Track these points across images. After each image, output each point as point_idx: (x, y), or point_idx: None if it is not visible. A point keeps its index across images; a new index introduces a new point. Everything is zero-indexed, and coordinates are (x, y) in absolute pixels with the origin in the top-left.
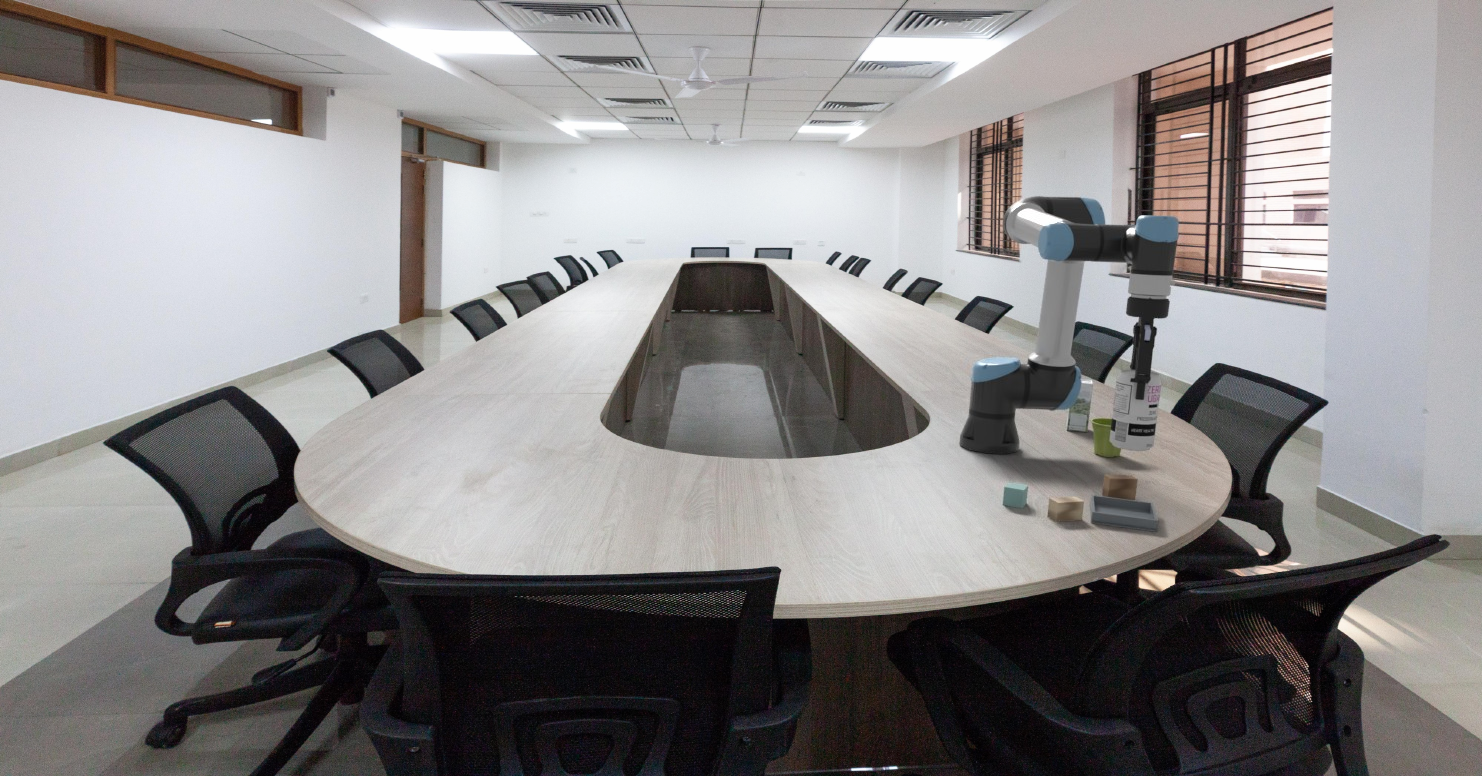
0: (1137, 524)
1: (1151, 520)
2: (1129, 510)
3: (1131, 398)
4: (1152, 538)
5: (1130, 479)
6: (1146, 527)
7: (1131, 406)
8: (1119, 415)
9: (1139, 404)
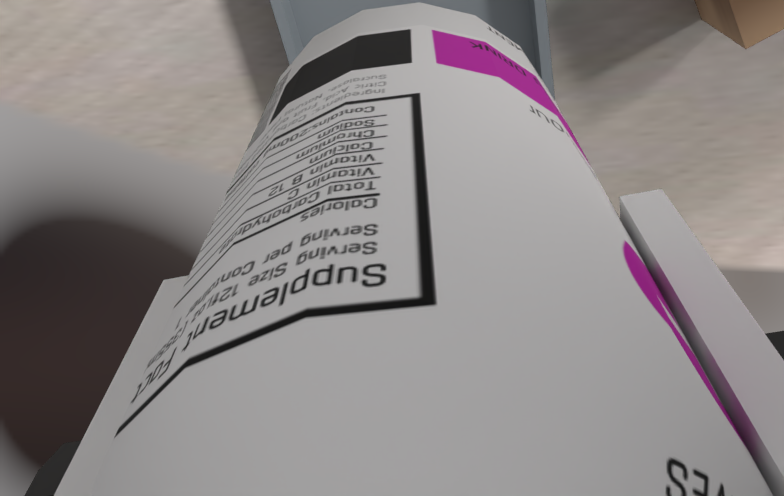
0: None
1: None
2: (498, 30)
3: (103, 402)
4: (243, 144)
5: (734, 16)
6: None
7: (138, 344)
8: (237, 174)
9: None
